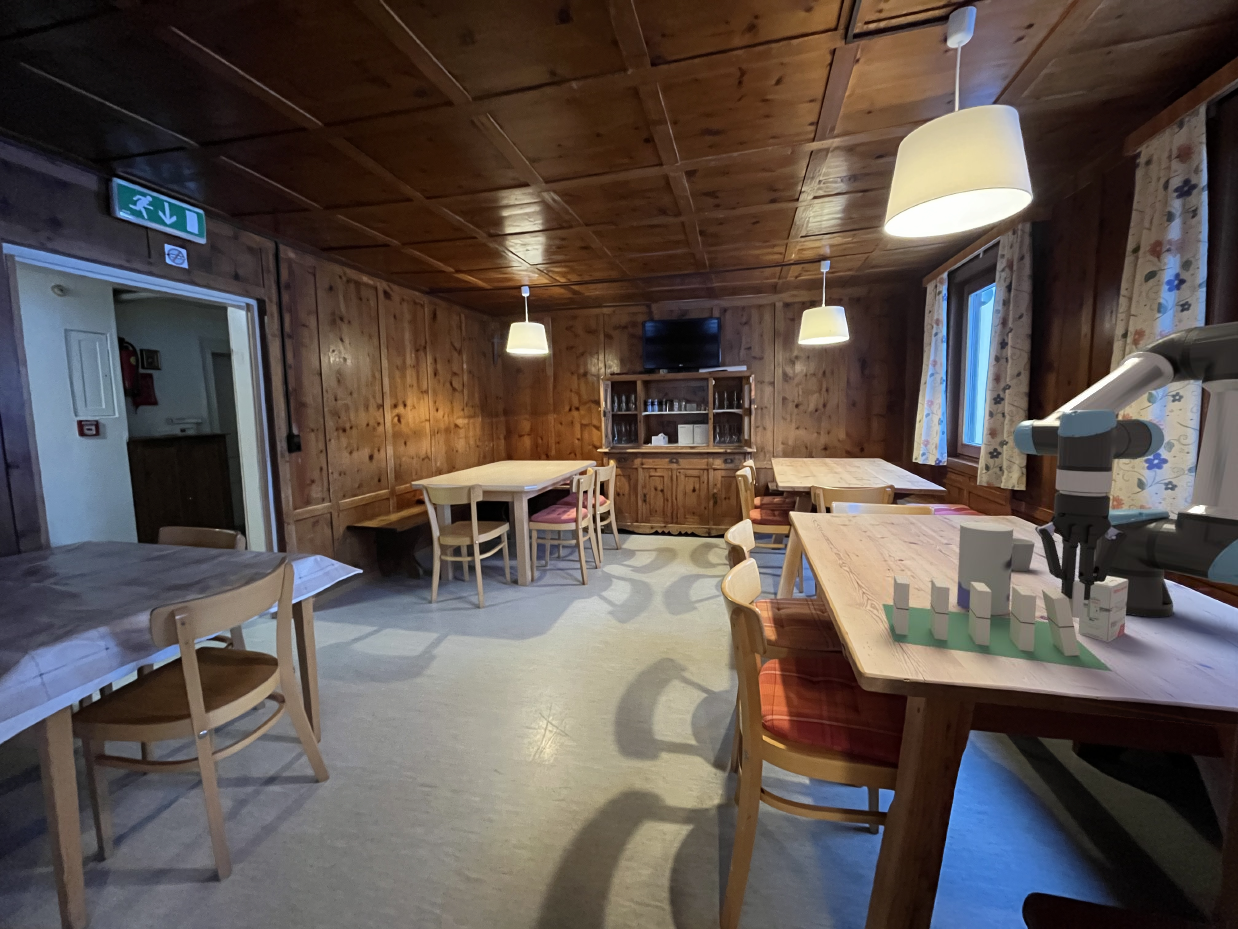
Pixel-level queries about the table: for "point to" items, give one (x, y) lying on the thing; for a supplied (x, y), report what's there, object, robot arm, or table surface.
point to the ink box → (1105, 610)
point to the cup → (1022, 554)
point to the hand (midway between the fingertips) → (1074, 615)
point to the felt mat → (997, 640)
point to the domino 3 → (979, 613)
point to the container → (985, 563)
